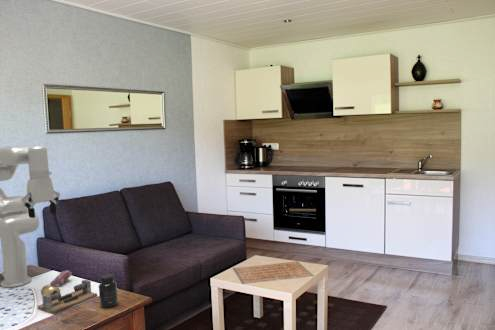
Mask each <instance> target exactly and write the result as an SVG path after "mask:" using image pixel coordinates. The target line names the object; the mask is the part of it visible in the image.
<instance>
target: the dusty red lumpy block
mask: <svg viewBox="0 0 495 330" xmlns="http://www.w3.org/2000/svg"><path fill="white" fill-rule="evenodd" d="M72 274H73V272H72V271H70V270H68V269H67V270H63V271H61V272H60V273H58V274H57V276H56V277H55V278H54V279H53V280H52V281H51V282H50V283H49V285H50V286H53V287H56V286H57V285H59V286H61V285H62V284H64V283H66V282H68V280H69V278H71V276H72Z"/></svg>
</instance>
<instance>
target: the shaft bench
mask: <svg viewBox="0 0 495 330" xmlns="http://www.w3.org/2000/svg"><path fill="white" fill-rule="evenodd" d="M41 297H42V303H41V304H38V305H37V310H40V311H43V312H45V313H48V314H52V315H53V316H54V315H55V316H56V315H57V314H59V313H62V312H64V311H66V310H68V309H69V310H70V309H72V308H73V307H76V306H78V305H80V304H83V303H85V302H88V301H90V300H92V299H94V298H97V297H98V293H97V292H92V284H91V280H89V279H82V280H81V283H80V284H76V285H74V286H73V291H72V292H70V293H66V294H64V295H62V294H61V291H60V292H58V293H55V294H53V295H48V294H45V295H41Z"/></svg>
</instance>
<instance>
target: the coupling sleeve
mask: <svg viewBox="0 0 495 330" xmlns="http://www.w3.org/2000/svg"><path fill="white" fill-rule="evenodd" d="M58 292H60V293H61V290H60V288H59V287H56V286H54V287H53V286H50V284H45V285H43V287H42V288H41V290H40V295H41V296H42V295H45V294H48V295H53V294H55V293H58Z"/></svg>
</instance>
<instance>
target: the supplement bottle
mask: <svg viewBox="0 0 495 330" xmlns="http://www.w3.org/2000/svg"><path fill="white" fill-rule="evenodd" d="M114 280H115V279H114V274H111V273H106V274H103V275H101V276H100V283H99V285H98V292H99V293H98V296H99V306H100V307H101V308H102V309H103V308H104V309H110V308H114V307H115V306H117V305H118V303H119V301H118V299H119V298H118V287H117V285H118V284H117V282H116V281H114Z"/></svg>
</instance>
